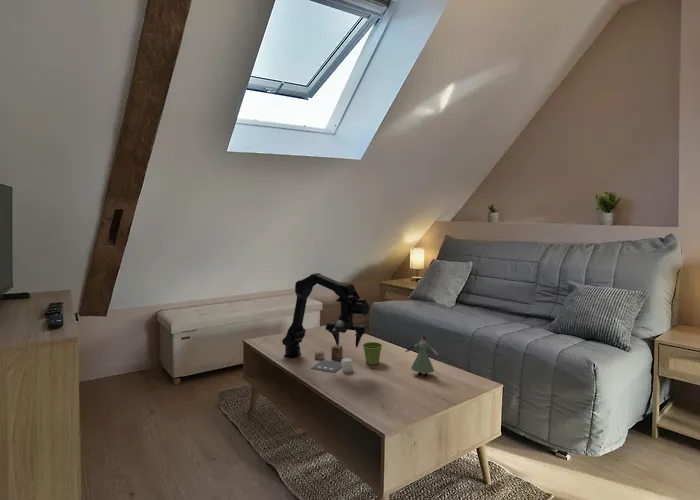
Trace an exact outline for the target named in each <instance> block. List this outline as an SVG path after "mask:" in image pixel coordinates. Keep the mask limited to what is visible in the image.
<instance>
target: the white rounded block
mask: <svg viewBox="0 0 700 500" xmlns="http://www.w3.org/2000/svg"><path fill="white" fill-rule="evenodd" d="M353 361H354V360H353V358H349V357H345V358H341V363H342V367H341V372H342V373H346V374H349V373H353V371H354V367H353V365H354V363H353Z"/></svg>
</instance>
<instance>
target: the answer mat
mask: <svg viewBox="0 0 700 500" xmlns="http://www.w3.org/2000/svg"><path fill="white" fill-rule="evenodd" d="M310 369H311V370H316V371H320V372H321V371H323V372H329V373H337V372H338V371H339V370H340V369H342V361H341V362H339V361H333V360H328V359H327V360H326V359H322V360H319V362H318V363H316V364H314V365H313V366H312V367H311V368H310Z"/></svg>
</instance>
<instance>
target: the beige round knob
mask: <svg viewBox="0 0 700 500" xmlns="http://www.w3.org/2000/svg"><path fill="white" fill-rule="evenodd" d="M314 360H316V361H317V360H318V361H322V360H325V351H323V350H317V351H316V350H315V352H314Z"/></svg>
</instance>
